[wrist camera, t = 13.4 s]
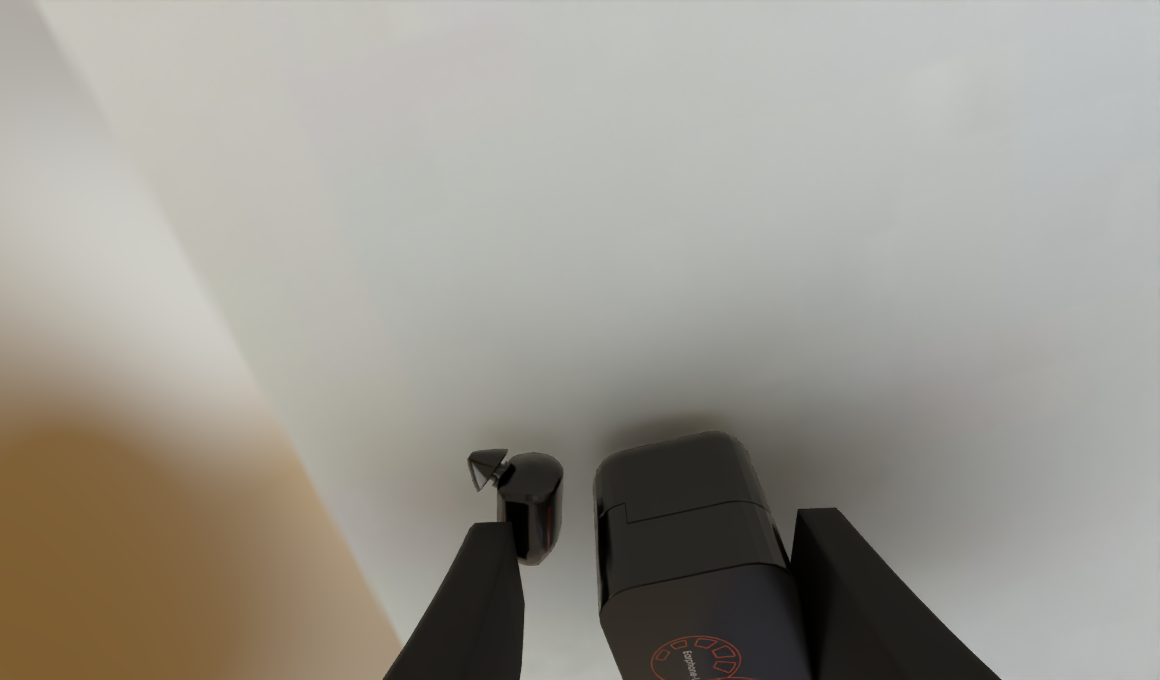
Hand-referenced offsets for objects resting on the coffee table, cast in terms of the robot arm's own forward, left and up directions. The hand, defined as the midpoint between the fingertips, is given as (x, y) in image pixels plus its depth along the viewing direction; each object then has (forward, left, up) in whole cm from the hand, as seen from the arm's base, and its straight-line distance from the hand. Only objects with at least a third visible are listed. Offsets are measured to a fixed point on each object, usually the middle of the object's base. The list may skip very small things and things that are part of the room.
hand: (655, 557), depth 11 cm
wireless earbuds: (-1, 0, -2) cm, 2 cm away
